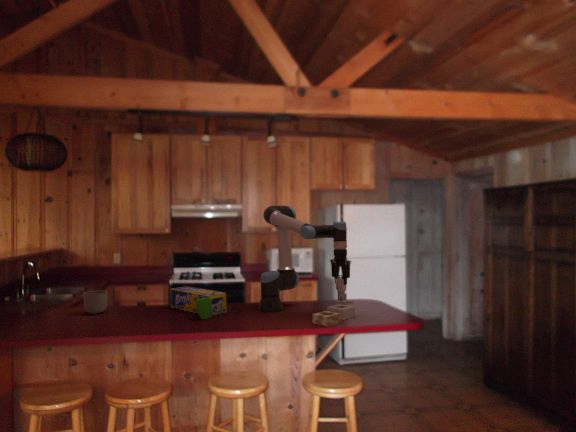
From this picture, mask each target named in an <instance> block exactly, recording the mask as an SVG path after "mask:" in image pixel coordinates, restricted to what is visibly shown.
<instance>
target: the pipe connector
mask: <svg viewBox="0 0 576 432" xmlns="http://www.w3.org/2000/svg"><path fill="white" fill-rule="evenodd" d="M347 298H348V297H347V293H346V292H345V300H344V301H338V299H337V300H336V303H337V304H342V305H348V304H354V300H350V299H349V300H348V299H347Z"/></svg>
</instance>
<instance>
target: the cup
mask: <svg viewBox="0 0 576 432" xmlns="http://www.w3.org/2000/svg"><path fill="white" fill-rule="evenodd" d="M196 301H197V303H198V309H199V314H198V316H199V318H201V319H207V318H209V319H210V317H211V316H210V310H211V303H212V299H211V298H201V299H197V300H196ZM201 319H200V320H201ZM207 320H208V319H207Z"/></svg>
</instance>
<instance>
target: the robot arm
mask: <svg viewBox="0 0 576 432" xmlns="http://www.w3.org/2000/svg"><path fill="white" fill-rule="evenodd" d="M263 219H264V221H265V223H267V224H269V225H271V226H274V228H275V229H277V248H278V249H277V250H278V267H277V268H276V270H270V271H264V272H262V273H261V274H260V280H259V281H260V299H259V304H258V306H257V308H258V309H257V310H258V311H259V312H263V313H265V312H267V313H272V312H273V313H274V312H275V313H276V312H280V311H283V309H284V306H283V304H282V300H281V296H280V292H283V291H291V290H293V289H295V288H296V287H298V285H299V282H300V275H299V274H298V272H297V271H296V269H295V267H294V266H293V256H292V255H293V254H292V253H293V249H292V233H291V232H293V233H295V234H298V235H301V237H302V239H305V240H315V239H333V256H334V257H333V258H331V259H330V260H329V261H330V268H331V270H330V271H331V277H333V278H334V284H335V291H337V275H340V268H341V275H343V278H342V291H347V284H348V279H350V277H351V264H352V261H351V259H350V260H349V259H348V258H347V255H348V249H347V248H348V240H347V237H348V236H347V234H348V233H347V232H348V229H347V228H348V227H347V222H346V221H333V222H332V224H319V225H314V224H313V225H312V224H309V223H307V222H305V221H302V220H299V219H297V213H296V211H295V209H294V208H293V207H292V206H290V205H270V206H269V205H268V206H267V207H266V208H265V209H264V211H263Z"/></svg>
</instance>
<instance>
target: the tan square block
mask: <svg viewBox="0 0 576 432" xmlns="http://www.w3.org/2000/svg"><path fill="white" fill-rule="evenodd" d="M311 318H312V324H315V325H319V326H322V327H323V326H324V327H328V328H329V327H331V326H332V327H333V326H336V325H338V324H342V323H343V321H342V319H341V314H340V313H335V312H330V311H327V310H323V311H320V312H316V313H312V317H311Z"/></svg>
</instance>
